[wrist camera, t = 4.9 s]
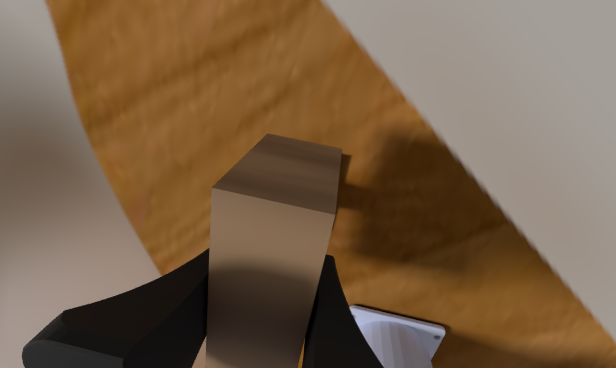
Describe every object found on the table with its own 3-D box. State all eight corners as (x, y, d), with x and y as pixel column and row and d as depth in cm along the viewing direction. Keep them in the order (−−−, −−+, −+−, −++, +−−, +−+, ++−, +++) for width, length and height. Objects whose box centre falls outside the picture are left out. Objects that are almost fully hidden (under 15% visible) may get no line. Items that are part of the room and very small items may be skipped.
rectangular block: (305, 305, 18) (284, 417, 12) (249, 291, 18) (204, 396, 12) (341, 148, 13) (335, 214, 8) (267, 133, 14) (211, 187, 8)
